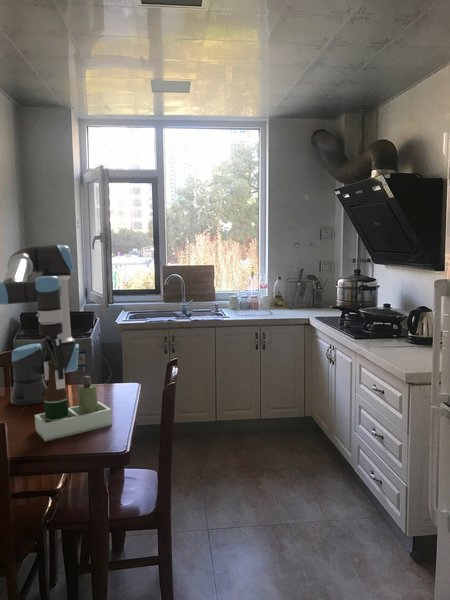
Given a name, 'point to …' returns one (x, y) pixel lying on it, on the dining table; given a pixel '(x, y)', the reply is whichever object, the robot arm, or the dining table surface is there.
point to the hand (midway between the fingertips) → (55, 384)
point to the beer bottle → (55, 398)
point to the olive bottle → (87, 397)
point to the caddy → (73, 423)
